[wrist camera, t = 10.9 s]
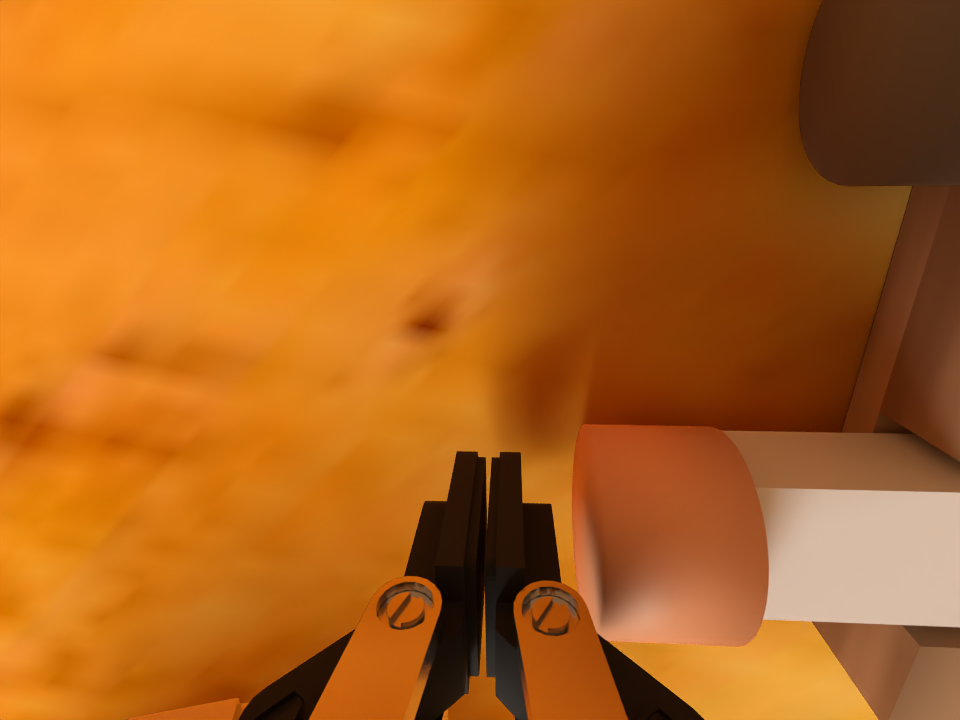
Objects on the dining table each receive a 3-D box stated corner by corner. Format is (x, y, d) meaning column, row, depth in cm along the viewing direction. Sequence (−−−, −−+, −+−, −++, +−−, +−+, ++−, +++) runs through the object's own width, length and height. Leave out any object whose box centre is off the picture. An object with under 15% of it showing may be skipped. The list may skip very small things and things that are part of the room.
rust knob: (1096, 398, 12) (1444, 527, 8) (1022, 549, 14) (1270, 727, 9) (578, 392, 13) (614, 505, 8) (568, 535, 15) (595, 693, 10)
